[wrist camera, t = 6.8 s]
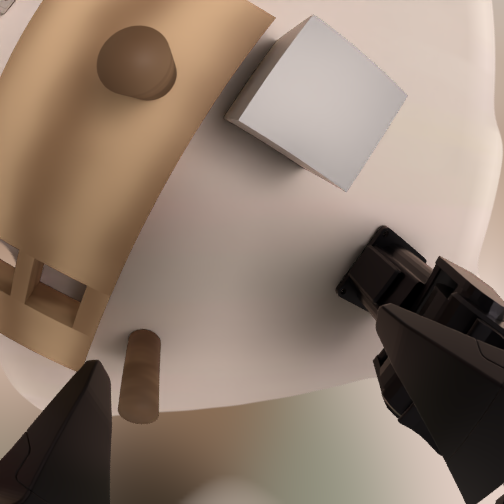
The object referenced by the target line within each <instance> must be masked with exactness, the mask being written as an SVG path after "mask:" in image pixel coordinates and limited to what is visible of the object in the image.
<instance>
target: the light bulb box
mask: <svg viewBox="0 0 504 504" xmlns="http://www.w3.org/2000/svg"><path fill="white" fill-rule="evenodd" d="M14 1H15V0H0V13H1V14H4V13H5V12H6V11H7V9H8V8H9V7H10V6H11V4H12V3H13V2H14Z"/></svg>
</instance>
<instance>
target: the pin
mask: <svg viewBox="0 0 504 504" xmlns="http://www.w3.org/2000/svg"><path fill="white" fill-rule="evenodd" d="M160 349H161V341H160V339H159V337H158V336H157V335H156V334H155V333H154V332H152V331H149V330H144V329H141V330H136V331H134V332H132V333H131V334H130V336H129V339H128V345H127V351H126V357H125V363H124V369H123V375H122V382H121V389H120V397H119V405H118V412H119V414H120V416H121V417H123V418H124V419H125V420H127V421H130V422H132V423H136V424H148V423H152V422H154V421H155V420H156V419H157V418H158V416H159V373H160Z"/></svg>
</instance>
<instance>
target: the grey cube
mask: <svg viewBox="0 0 504 504" xmlns="http://www.w3.org/2000/svg"><path fill="white" fill-rule="evenodd" d="M407 96H408V95H407V94H406V93H405V92H404V91H403V90H402V89H401V88H400V87H399V86H398V85H397V84H396V83H395V82H394V81H393V80H392V79H391V78H390V77H389V76H388V75H387V74H386V73H385V72H384V71H382V70H381V69H380V68H379V67H378V66H377V65H376V64H375V63H374V62H373V61H372V60H370V59H369V58H368V57H367V56H366V55H365V54H364V53H362V52H361V51H360V50H359V49H358V48H357V47H355V46H354V45H353V44H352V43H351V42H349V41H348V40H347V39H346V38H344V37H343V36H342V35H341V34H339V33H338V32H337V31H335V30H334V29H333V28H332V27H330V26H329V25H328V24H326V23H325V22H324V21H322V20H321V19H319V18H318V17H317V16H315V15H314V14H313V15H312V16H310V17H309V18H307V19H306V20H304V21H303V22H301V23H300V24H299V25H297V26H296V27H294V28H293V29H292V30H290V31H289V32H287V33H286V34H285V35H283V36H282V37H281V38H279V39H278V40H277V41H276V42H275V44H274V45H273V46H272V48H271V49H270V51H269V52H268V53H267V55H266V56H265V57H264V59H263V60H262V62H261V63H260V64H259V66H258V67H257V69H256V70H255V72H254V73H253V74H252V76H251V77H250V79H249V80H248V82H247V83H246V85H245V86H244V88H243V89H242V91H241V92H240V94H239V95H238V97H237V98H236V100H235V101H234V103H233V104H232V106H231V107H230V109H229V110H228V112H227V113H226V115H225V116H224V119H226V120H228V121H230V122H231V123H233V124H235V125H236V126H238V127H240V128H241V129H243V130H245V131H246V132H248V133H250V134H251V135H253V136H255V137H256V138H258V139H259V140H261V141H263V142H264V143H266V144H267V145H269V146H271V147H272V148H274V149H275V150H277V151H278V152H280V153H282V154H283V155H285V156H286V157H288V158H289V159H291V160H292V161H294V162H295V163H297V164H298V165H300V166H301V167H303V168H304V169H306V170H308V171H310V172H312V173H313V174H315V175H317V176H319V177H321V178H322V179H324V180H326V181H328V182H329V183H331V184H333V185H335V186H336V187H338V188H340V189H342V190H343V191H345V192H347V191H348V190H349V188H350V187H351V185H352V184H353V182H354V180H355V179H356V177H357V176H358V174H359V173H360V171H361V170H362V168H363V167H364V165H365V164H366V162H367V160H368V159H369V157H370V156H371V154H372V153H373V151H374V150H375V148H376V146H377V145H378V143H379V142H380V140H381V139H382V137H383V135H384V134H385V132H386V131H387V129H388V127H389V126H390V124H391V123H392V121H393V119H394V118H395V116H396V114H397V113H398V111H399V110H400V108H401V106H402V105H403V103H404V101H405V100H406V98H407Z"/></svg>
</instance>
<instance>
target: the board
mask: <svg viewBox="0 0 504 504" xmlns="http://www.w3.org/2000/svg"><path fill="white" fill-rule="evenodd" d="M274 20H275V17H274V16H272V15H270V14H269V13H267V12H265V11H264V10H262V9H261V8H259V7H257V6H255V5H254V4H252V3H250V2H249V1H247V0H43V1H42V3H41V4H40V6H39V7H38V9H37V10H36V12H35V14H34V15H33V17H32V18H31V20H30V22H29V23H28V25H27V27H26V28H25V30H24V32H23V34H22V35H21V37H20V39H19V41H18V43H17V45H16V46H15V48H14V50H13V52H12V54H11V56H10V58H9V60H8V62H7V64H6V66H5V68H4V71H3V73H2V75H1V77H0V239H2V240H3V241H5V242H7V243H8V244H10V245H12V246H14V247H15V248H17V249H19V253H18V257H17V262H16V267H13V266H11V265H9V264H8V263H6V262H4V261H3V260H1V259H0V333H1V334H3V335H5V336H6V337H8V338H10V339H12V340H13V341H15V342H17V343H19V344H21V345H23V346H24V347H26V348H28V349H30V350H32V351H34V352H36V353H38V354H40V355H42V356H44V357H46V358H48V359H50V360H52V361H54V362H57V363H59V364H61V365H63V366H65V367H67V368H70V369H72V370H74V371H76V372H77V371H78V370H79V369H80V368H81V367H82V366H83V365H84V362H85V360H86V357H87V354H88V351H89V349H90V346H91V343H92V341H93V338H94V335H95V333H96V330H97V328H98V325H99V323H100V320H101V318H102V315H103V313H104V310H105V308H106V305H107V303H108V301H109V298H110V296H111V294H112V291H113V289H114V287H115V285H116V282H117V280H118V278H119V276H120V273H121V271H122V269H123V267H124V265H125V262H126V260H127V258H128V256H129V254H130V252H131V250H132V248H133V245H134V243H135V241H136V239H137V237H138V235H139V233H140V231H141V229H142V227H143V225H144V223H145V221H146V219H147V217H148V215H149V214H150V212H151V210H152V208H153V206H154V204H155V202H156V200H157V198H158V196H159V195H160V193H161V191H162V189H163V187H164V185H165V184H166V182H167V180H168V178H169V176H170V175H171V173H172V171H173V169H174V168H175V166H176V164H177V162H178V161H179V159H180V157H181V156H182V154H183V152H184V150H185V149H186V147H187V145H188V144H189V142H190V140H191V139H192V137H193V135H194V134H195V132H196V131H197V129H198V127H199V126H200V124H201V123H202V121H203V119H204V118H205V116H206V115H207V113H208V112H209V110H210V109H211V107H212V105H213V104H214V102H215V101H216V99H217V98H218V96H219V95H220V93H221V92H222V90H223V89H224V87H225V86H226V84H227V83H228V82H229V80H230V79H231V77H232V76H233V74H234V73H235V72H236V70H237V69H238V67H239V66H240V64H241V63H242V62H243V60H244V59H245V58H246V56H247V55H248V53H249V52H250V51H251V49H252V48H253V47H254V45H255V44H256V43H257V41H258V40H259V39H260V37H261V36H262V35H263V34H264V32H265V31H266V30H267V28H268V27H269V26H270V25H271V23H272V22H273V21H274ZM44 264H46V265H48V266H50V267H51V268H53V269H55V270H57V271H59V272H61V273H63V274H65V275H67V276H69V277H71V278H73V279H75V280H77V281H79V282H81V283H83V284H85V285H87V287H86V289H85V292H84V295H83V298H82V301H81V302H79V301H77V300H75V299H73V298H71V297H69V296H67V295H65V294H63V293H61V292H59V291H57V290H55V289H53V288H51V287H49V286H47V285H45V284H43V283H42V282H40V278H41V274H42V270H43V267H44Z"/></svg>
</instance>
